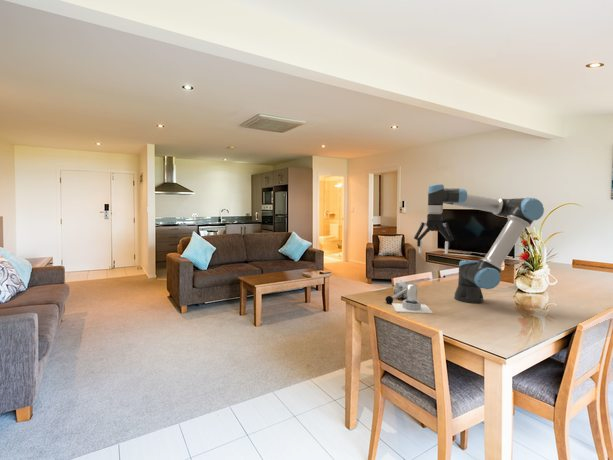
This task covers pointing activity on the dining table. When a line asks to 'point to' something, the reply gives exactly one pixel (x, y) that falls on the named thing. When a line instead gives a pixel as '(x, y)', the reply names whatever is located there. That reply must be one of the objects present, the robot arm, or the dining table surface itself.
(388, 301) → the valve
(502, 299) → the dining table surface
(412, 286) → the grey upright cylinder
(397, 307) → the duct panel
